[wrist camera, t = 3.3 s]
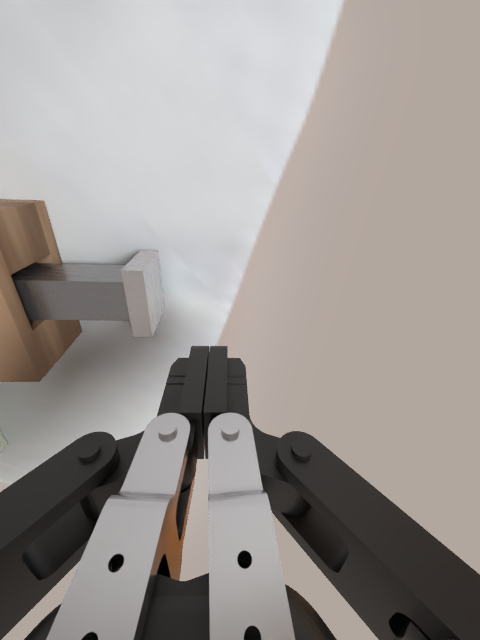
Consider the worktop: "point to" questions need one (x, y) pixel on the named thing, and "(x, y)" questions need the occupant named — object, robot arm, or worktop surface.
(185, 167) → the worktop surface
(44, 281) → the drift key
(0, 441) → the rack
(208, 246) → the worktop surface
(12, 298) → the socket block
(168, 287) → the worktop surface
